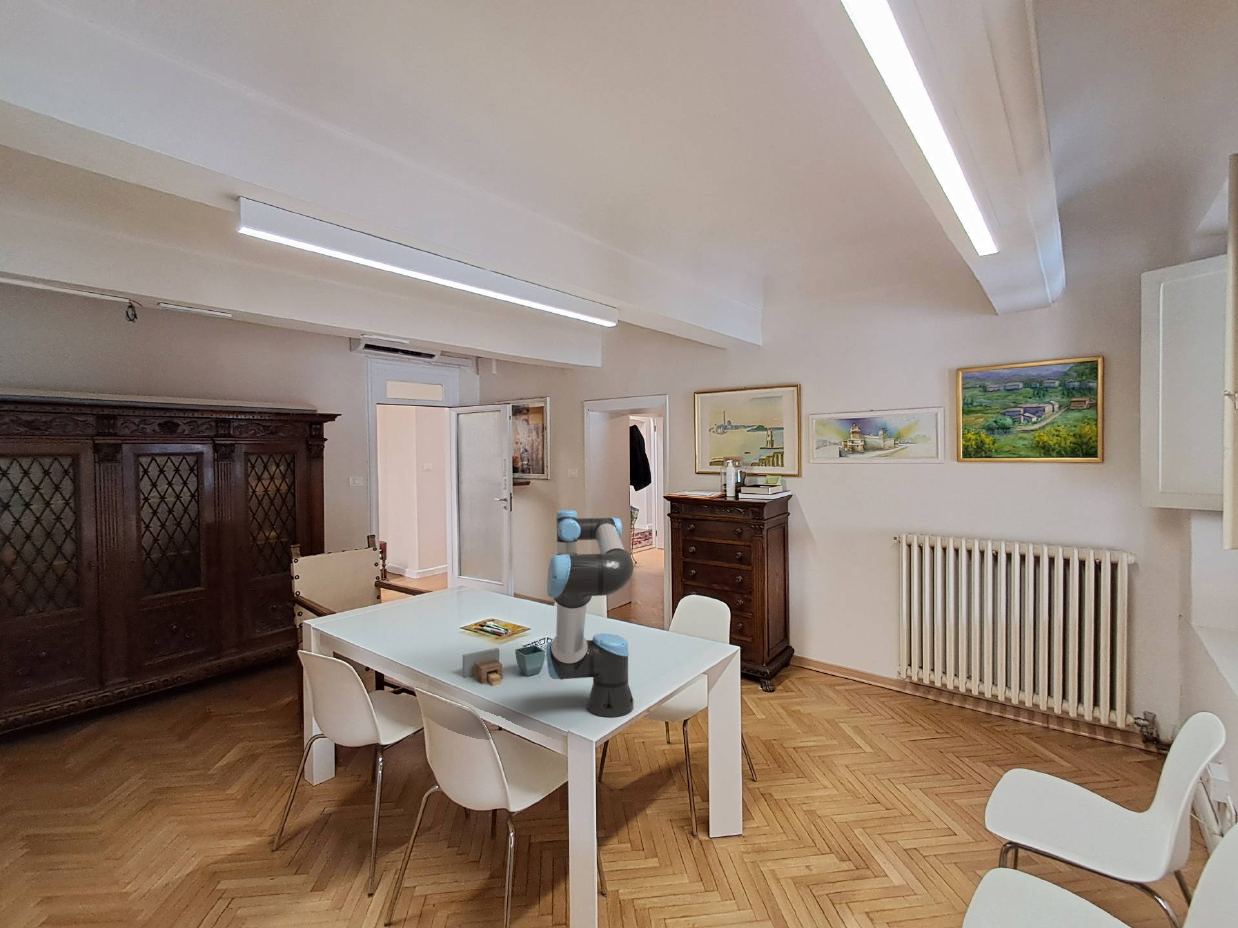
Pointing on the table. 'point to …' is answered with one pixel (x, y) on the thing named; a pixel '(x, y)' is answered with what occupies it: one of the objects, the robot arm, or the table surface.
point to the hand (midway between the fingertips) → (567, 617)
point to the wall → (477, 660)
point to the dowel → (493, 678)
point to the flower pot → (530, 659)
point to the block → (486, 669)
